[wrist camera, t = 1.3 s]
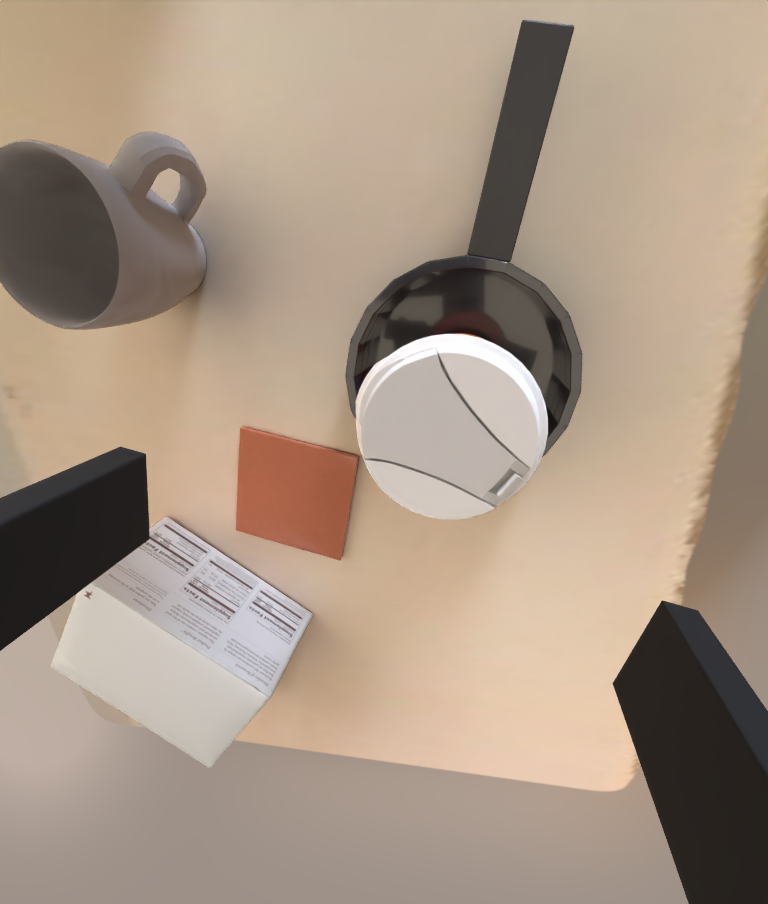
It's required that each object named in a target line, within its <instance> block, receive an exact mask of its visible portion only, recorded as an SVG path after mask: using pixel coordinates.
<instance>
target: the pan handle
mask: <svg viewBox="0 0 768 904" xmlns="http://www.w3.org/2000/svg"><path fill="white" fill-rule="evenodd" d="M573 31H574V26H573V25H566V24H557V23H548V22H539V21H529V20H523V21H522V22H521V27H520V31H519V35H518V40H517V44H516V48H515V52H514V57H513V61H512V65H511V70H510V74H509V78H508V82H507V87H506V91H505V95H504V99H503V104H502V108H501V112H500V117H499V121H498V125H497V129H496V134H495V138H494V142H493V146H492V151H491V155H490V159H489V164H488V168H487V172H486V176H485V181H484V185H483V189H482V194H481V198H480V202H479V206H478V211H477V215H476V219H475V223H474V228H473V232H472V236H471V241H470V245H469V249H468V256H469V255H472V256H477V257H483V258H488V259H494V260H499V261H505V262H508V263H509V262H510V261H511V258H512V254H513V250H514V247H515V243H516V239H517V236H518V232H519V228H520V225H521V221H522V217H523V214H524V210H525V206H526V203H527V199H528V195H529V192H530V188H531V184H532V181H533V177H534V173H535V170H536V166H537V162H538V159H539V155H540V151H541V148H542V144H543V140H544V137H545V133H546V129H547V126H548V122H549V118H550V115H551V111H552V107H553V104H554V100H555V97H556V93H557V89H558V86H559V82H560V78H561V75H562V71H563V67H564V64H565V60H566V56H567V53H568V49H569V45H570V42H571V38H572V34H573Z"/></svg>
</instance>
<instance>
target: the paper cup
mask: <svg viewBox="0 0 768 904" xmlns="http://www.w3.org/2000/svg"><path fill="white" fill-rule="evenodd" d="M356 433H357V439H358V445H359V448H360V451H361V454H362V457H363V459H364V462H365V465H366V467H367V469H368V471H369V473H370V475H371V476H372V478H373V479H374V481H375V482H376V484H377V485H378V486H379V487H380V488H381V489H382V490H383V492H384V493H385V494H386V495H387V496H389V497H390V498H391V499H392V500H394V501H395V502H396V503H398V504H399V505H401V506H403V507H404V508H406V509H408V510H410V511H412V512H415V513H417V514H420V515H423V516H427V517H431V518H437V519H445V520H453V519H465V518H472V517H475V516H478V515H482V514H485V513H487V512H489V511H491V510H493V509H496V507H497V505H499V504H501V503H503V502H504V501H506V500H507V499H509V498H510V497H512V496H513V495H514V494H515V493H517V492H518V491H519V490H520V489H521V488H522V487H523V486H524V485H525V484H526V483H527V481H528V480H529V479H530V478H531V476H532V475H533V474H534V472H535V470H536V469H537V467H538V465H539V463H540V461H541V458H542V456H543V453H544V450H545V447H546V441H547V436H548V416H547V410H546V404H545V401H544V398H543V396H542V393H541V390H540V388H539V386H538V384H537V383H536V381H535V379H534V378H533V376H532V374H531V373H530V372H529V371H528V370H527V368H526V367H525V366H524V365H523V364H522V362H520V361H519V360H518V359H517V358H516V357H514V356H513V355H512V354H511V353H510V352H508V351H507V350H505V349H503V348H501V347H500V346H498V345H496V344H494V343H492V342H489V341H487V340H484V339H482V338H480V337H478V336H476V335H472V334H467V333H456V334H441V335H433V336H428V337H425V338H421V339H418V340H415V341H413V342H411V343H409V344H407V345H404V346H402V347H401V348H399V349H398V350H396V351H395V352H393V353H392V354H390V355H389V356H387V357H386V358H384V359H382V360H381V361H379V362H377V363H376V364H375V365H374V366H373V367H372V369H371V370H370V372H369V373H368V374H367V376H366V377H365V379H364V381H363V383H362V385H361V387H360V389H359V392H358V395H357V399H356Z"/></svg>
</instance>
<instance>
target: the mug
mask: <svg viewBox="0 0 768 904" xmlns="http://www.w3.org/2000/svg"><path fill="white" fill-rule="evenodd" d="M167 168H171V169H173V170H175V171H177V172H178V173H179V174H180V190H179V193H178V196H177V198H176V200H175V201H174V203H173V204H172V205H171V204H169V203H167V202H166V201H165V200H163V199H162V198H161V197H160V196H158V195H157V194H156V193H154V192H153V191H152V190H150V188H151V186H152V184H153V182H154V180H155V178H156V177H157V175H158V174H159V173H160V172H161V171H164V170H165V169H167ZM205 195H206V184H205V180H204V176H203V174H202V172H201V170H200V168H199V166H198V164H197V162H196V160H195V159H194V157H193V156H192V154H191V153H190V151H189V150H188V149H187V148H186V147H185V146H184V145H183V144H182V143H181V142H180V141H178V140H176V139H174V138H172V137H169V136H167V135H163V134H160V133H157V132H143V133H138V134H136V135H134V136H132V137H130V138H128V139H127V140H126V141H125V142H124V143H123V145H122V146H121V148H120V150H119V152H118V154H117V156H116V157H115V159H114V161H113V162H112V164H111V166H108V165H106V164H104V163H101V162H99V161H97V160H94V159H92V158H90V157H87V156H84V155H82V154H79V153H77V152H74V151H72V150H69V149H66V148H63V147H60V146H57V145H54V144H50V143H46V142H41V141H36V140H20V141H15V142H12V143H9V144H7V145H5V146H4V147H2V148H0V282H1V284H2V285H3V286H4V288H5V289H6V290H7V291H8V293H9V294H10V295H11V296H12V297H13V298H14V299H15V300H16V301H17V302H18V303H19V304H20V305H21V306H22V307H23V308H24V309H26V310H27V311H28V312H30V313H31V314H33V315H34V316H36V317H37V318H39V319H41V320H43V321H45V322H47V323H49V324H51V325H54V326H57V327H60V328H65V329H81V330H83V329H97V328H105V327H112V326H118V325H124V324H129V323H133V322H137V321H141V320H144V319H147V318H150V317H153V316H156V315H158V314H160V313H163V312H165V311H167V310H169V309H170V308H172V307H174V306H175V305H177V304H178V303H179V302H180V301H182V300H183V299H184V298H185V297H186V296H187V295H188V294H190V293H192V292H193V291H195V290H196V289H197V288H198V287H199V286H200V284H201V283H202V281H203V279H204V276H205V272H206V253H205V249H204V246H203V243H202V241H201V239H200V237H199V235H198V234H197V232H196V231H195V230H194V228H193V227H192V226H191V225H190V224H189V221H190V220H191V219H192V218H193V216H194V215H195V213H196V212H197V210H198V208H199V206H200V204H201V202H202V200H203V198H204V197H205Z"/></svg>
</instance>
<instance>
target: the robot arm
mask: <svg viewBox="0 0 768 904" xmlns="http://www.w3.org/2000/svg"><path fill="white" fill-rule="evenodd" d="M149 539H150V535H149V513H148V491H147V470H146V454H144V453H141V452H137V451H134V450H130V449H126V448H123V447H119V448H116V449H114V450H112V451H109V452H107V453H105V454H102V455H100V456H98V457H95V458H93V459H91V460H88V461H86V462H84V463H81V464H79V465H77V466H74V467H72V468H70V469H67V470H65V471H63V472H60V473H58V474H56V475H53V476H51V477H49V478H46V479H44V480H42V481H39V482H37V483H35V484H32V485H30V486H28V487H25V488H23V489H21V490H18V491H16V492H14V493H11V494H9V495H7V496H4V497H2V498H0V651H1V650H2V649H3V648H4V647H6V646H7V645H8V644H10V643H11V642H13V641H14V640H15V639H17V638H18V637H19V636H20V635H22V634H23V633H24V632H26V631H27V630H28V629H30V628H31V627H33V626H34V625H35V624H36V623H38V622H39V621H41V620H42V619H43V618H45V617H46V616H47V615H49V614H50V613H51V612H53V611H54V610H55V609H57V608H58V607H59V606H61V605H62V604H63V603H65V602H66V601H67V600H69V599H70V598H71V597H73V596H74V595H75V594H77V593H78V592H80V591H81V590H82V589H84V588H85V587H86V586H88V585H89V584H90V583H92V582H93V581H94V580H96V579H97V578H98V577H100V576H101V575H102V574H104V573H105V572H106V571H108V570H109V569H110V568H112V567H113V566H114V565H116V564H117V563H118V562H120V561H121V560H122V559H124V558H125V557H126V556H128V555H129V554H130V553H132V552H133V551H134V550H136V549H137V548H138V547H140V546H141V545H142V544H144V543H145V542H146V541H148V540H149ZM613 686H614V689H615V691H616V694H617V697H618V700H619V703H620V706H621V709H622V712H623V715H624V717H625V720H626V723H627V726H628V729H629V732H630V735H631V738H632V741H633V744H634V746H635V749H636V752H637V755H638V758H639V761H640V764H641V767H642V769H643V772H644V775H645V778H646V781H647V784H648V787H649V790H650V793H651V795H652V798H653V801H654V804H655V807H656V810H657V813H658V816H659V819H660V822H661V824H662V827H663V830H664V833H665V836H666V839H667V842H668V845H669V848H670V850H671V853H672V856H673V859H674V862H675V865H676V868H677V871H678V874H679V877H680V879H681V882H682V885H683V888H684V891H685V894H686V897H687V900H688V902H689V904H768V711H767V710H766V708H765V707H764V705H763V704H762V702H761V701H760V699H759V698H758V697H757V695H756V694H755V692H754V691H753V689H752V688H751V687H750V685H749V684H748V682H747V681H746V679H745V678H744V676H743V675H742V673H741V672H740V671H739V669H738V668H737V666H736V665H735V663H734V662H733V661H732V659H731V658H730V656H729V655H728V653H727V652H726V650H725V649H724V648H723V646H722V645H721V643H720V642H719V640H718V639H717V637H716V636H715V635H714V633H713V632H712V630H711V629H710V627H709V626H708V624H707V623H706V622H705V620H704V619H703V617H702V616H701V614H700V613H699V612H698V611H697V610H694V609H690V608H687V607H683V606H680V605H676V604H673V603H669V602H666V601H661V603H660V605H659V607H658V608H657V610H656V612H655V613H654V615H653V617H652V618H651V620H650V622H649V623H648V625H647V627H646V628H645V630H644V632H643V633H642V635H641V637H640V639H639V640H638V642H637V644H636V645H635V647H634V649H633V650H632V652H631V654H630V655H629V657H628V659H627V660H626V662H625V664H624V665H623V667H622V669H621V670H620V672H619V674H618V676H617V677H616V679H615V681H614V682H613Z"/></svg>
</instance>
